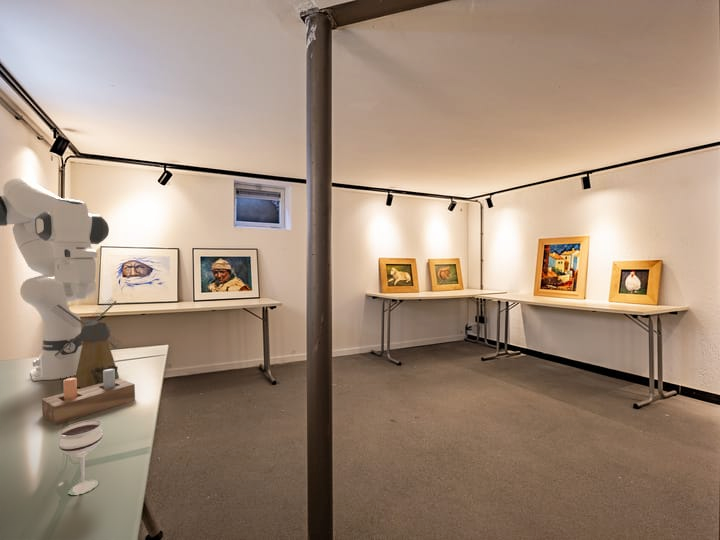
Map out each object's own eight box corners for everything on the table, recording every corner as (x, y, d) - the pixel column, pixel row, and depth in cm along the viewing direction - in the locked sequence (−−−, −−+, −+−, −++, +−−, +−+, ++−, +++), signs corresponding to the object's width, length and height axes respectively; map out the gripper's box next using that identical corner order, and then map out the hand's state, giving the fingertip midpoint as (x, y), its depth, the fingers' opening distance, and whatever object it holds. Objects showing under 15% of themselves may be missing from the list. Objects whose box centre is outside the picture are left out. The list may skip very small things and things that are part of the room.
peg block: (42, 416, 101) (41, 399, 101) (120, 393, 118) (119, 378, 118) (55, 424, 96) (54, 406, 96) (135, 399, 113) (134, 384, 112)
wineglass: (106, 473, 74) (104, 416, 74) (102, 491, 68) (100, 430, 68) (64, 484, 71) (62, 425, 70) (57, 504, 65) (54, 440, 64)
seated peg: (102, 402, 111) (101, 370, 110) (113, 399, 113) (112, 368, 113) (106, 404, 109) (105, 372, 109) (117, 401, 112) (116, 369, 111)
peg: (62, 414, 103) (61, 380, 102) (75, 410, 105) (74, 377, 105) (67, 416, 101) (65, 382, 101) (79, 412, 103) (78, 378, 103)
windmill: (120, 370, 143) (117, 296, 141) (138, 376, 135) (135, 298, 134) (52, 387, 125) (49, 302, 123) (69, 395, 117) (65, 304, 116)
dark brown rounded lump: (89, 397, 115) (88, 373, 114) (93, 390, 121) (92, 366, 121) (116, 393, 118) (115, 369, 118) (119, 386, 125) (119, 363, 124)
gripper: (47, 252, 111) (49, 296, 111) (73, 251, 100) (75, 300, 100) (71, 252, 116) (73, 294, 116) (99, 251, 105) (101, 298, 105)
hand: (74, 297), depth 108 cm, fingers open, 8 cm apart
